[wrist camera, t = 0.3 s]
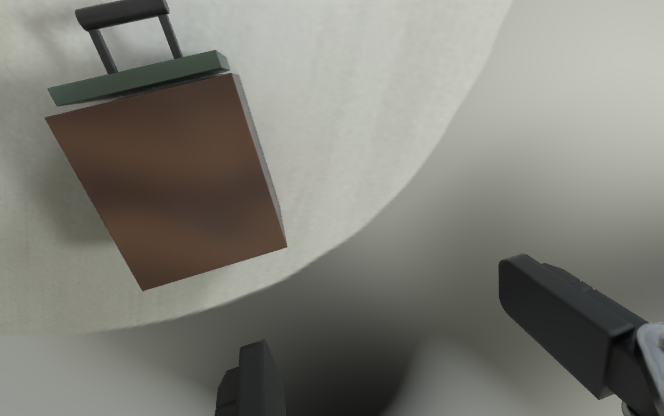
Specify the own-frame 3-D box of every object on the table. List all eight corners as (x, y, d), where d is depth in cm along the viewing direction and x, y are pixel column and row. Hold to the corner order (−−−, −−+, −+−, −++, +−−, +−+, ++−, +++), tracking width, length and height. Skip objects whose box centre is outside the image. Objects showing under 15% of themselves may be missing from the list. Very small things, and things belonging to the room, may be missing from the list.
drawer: (75, 28, 28) (3, 8, 20) (207, 0, 29) (190, -29, 21) (164, 216, 35) (138, 256, 27) (267, 187, 37) (271, 217, 29)
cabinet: (108, 105, 31) (43, 117, 22) (238, 74, 33) (231, 72, 23) (171, 236, 37) (142, 291, 28) (279, 205, 39) (287, 247, 29)
